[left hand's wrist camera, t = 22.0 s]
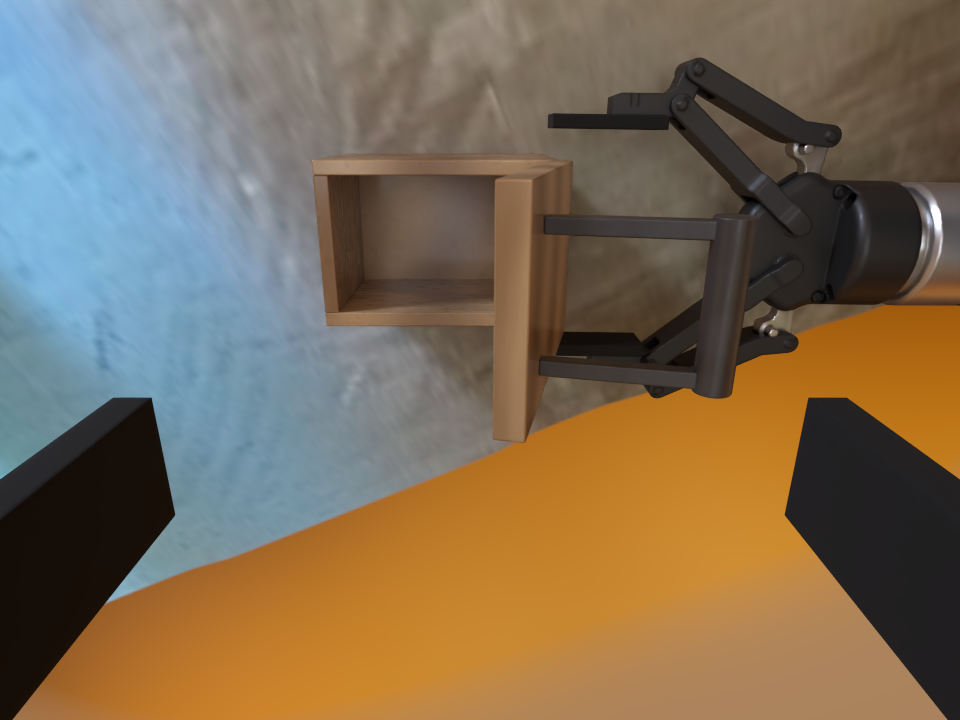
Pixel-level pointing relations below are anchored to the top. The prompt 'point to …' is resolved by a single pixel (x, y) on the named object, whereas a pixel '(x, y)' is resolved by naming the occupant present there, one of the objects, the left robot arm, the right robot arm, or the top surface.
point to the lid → (543, 284)
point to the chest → (410, 236)
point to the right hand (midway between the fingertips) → (543, 238)
